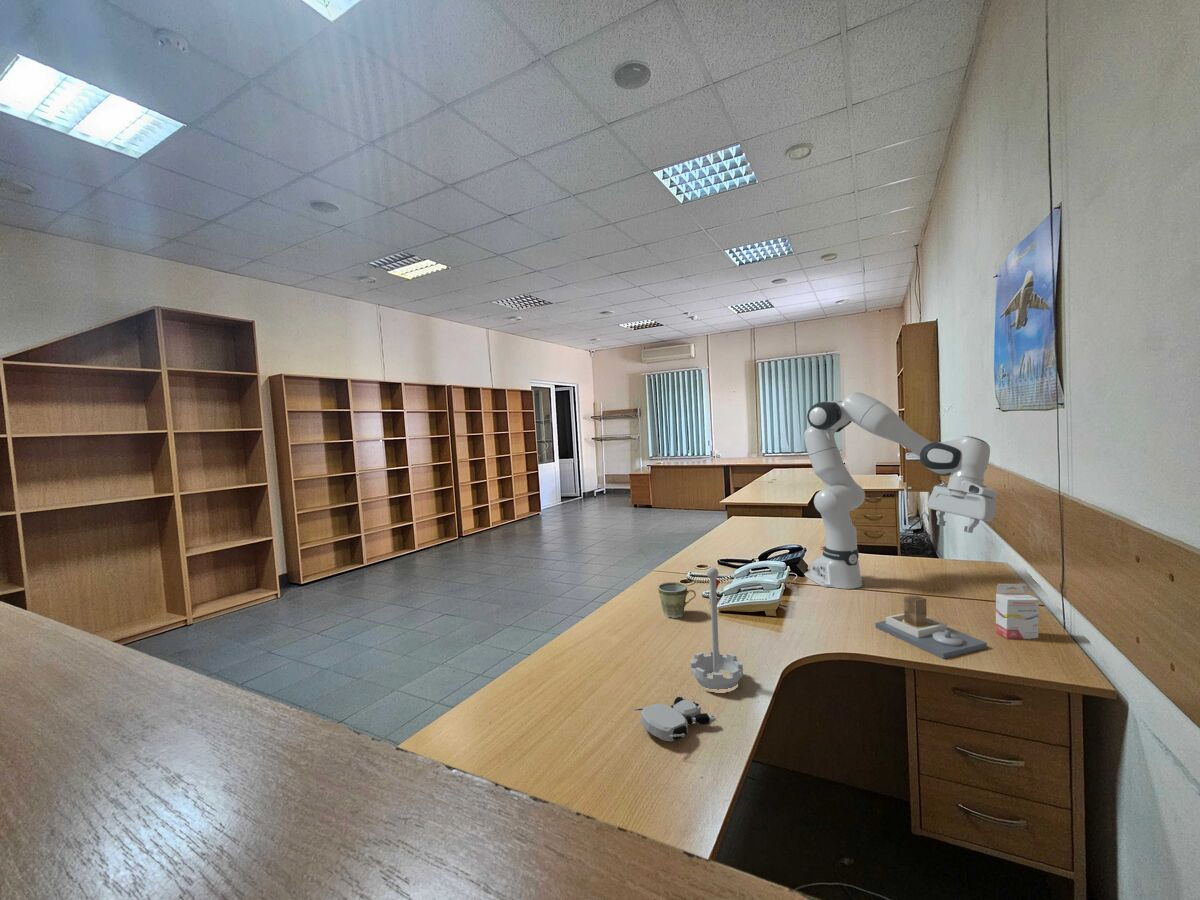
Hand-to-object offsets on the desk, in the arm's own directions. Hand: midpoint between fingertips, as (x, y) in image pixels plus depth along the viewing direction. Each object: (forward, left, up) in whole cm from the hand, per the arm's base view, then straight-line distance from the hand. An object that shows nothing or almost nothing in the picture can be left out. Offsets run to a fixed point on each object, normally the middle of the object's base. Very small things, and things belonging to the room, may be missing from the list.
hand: (953, 528), depth 159 cm
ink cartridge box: (+18, 0, -28) cm, 33 cm away
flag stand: (+7, -92, -28) cm, 96 cm away
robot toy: (+20, -110, -28) cm, 115 cm away
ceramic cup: (-36, -82, -28) cm, 93 cm away
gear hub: (+5, -22, -26) cm, 35 cm away
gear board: (+9, -23, -28) cm, 37 cm away
